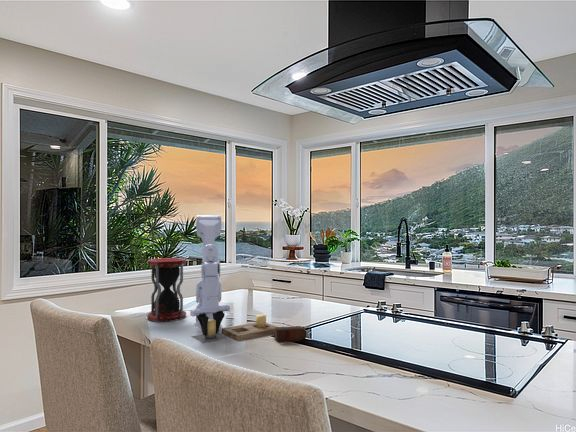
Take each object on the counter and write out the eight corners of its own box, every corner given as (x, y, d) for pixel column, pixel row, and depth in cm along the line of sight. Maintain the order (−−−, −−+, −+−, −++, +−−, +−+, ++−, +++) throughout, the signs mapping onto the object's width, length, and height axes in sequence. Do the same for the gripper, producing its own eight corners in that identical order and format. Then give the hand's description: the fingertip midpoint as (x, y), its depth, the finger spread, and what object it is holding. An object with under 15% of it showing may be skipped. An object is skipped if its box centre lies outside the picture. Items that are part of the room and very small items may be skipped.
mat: (190, 337, 149) (190, 336, 149) (216, 332, 155) (216, 331, 155) (202, 343, 141) (202, 343, 141) (228, 338, 147) (228, 338, 147)
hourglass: (139, 320, 174) (139, 260, 174) (161, 312, 189) (162, 257, 189) (172, 323, 169) (173, 261, 169) (193, 314, 184) (193, 258, 184)
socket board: (221, 333, 153) (221, 328, 153) (262, 326, 164) (262, 321, 164) (237, 341, 144) (237, 335, 144) (279, 333, 155) (279, 327, 155)
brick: (277, 343, 142) (277, 330, 142) (274, 340, 146) (274, 327, 146) (306, 341, 145) (306, 328, 145) (302, 338, 149) (303, 325, 149)
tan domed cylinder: (253, 331, 157) (253, 315, 157) (262, 329, 159) (262, 314, 160) (259, 333, 154) (259, 317, 154) (268, 331, 156) (268, 315, 156)
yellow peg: (202, 337, 148) (202, 320, 148) (212, 335, 150) (213, 318, 150) (207, 339, 145) (207, 322, 145) (218, 337, 147) (218, 320, 147)
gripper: (196, 299, 140) (196, 339, 140) (234, 295, 149) (233, 333, 149) (187, 296, 146) (187, 335, 146) (224, 292, 154) (224, 328, 154)
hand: (210, 333), depth 147 cm, fingers closed on yellow peg, 4 cm apart
